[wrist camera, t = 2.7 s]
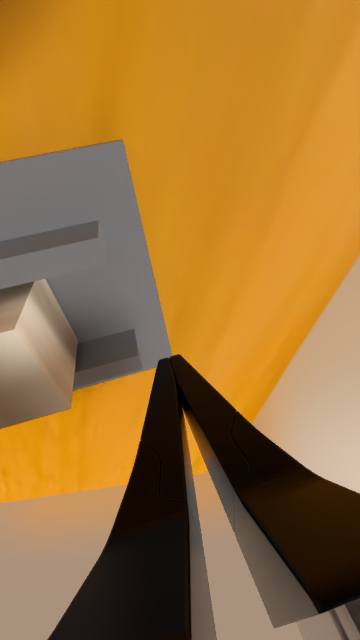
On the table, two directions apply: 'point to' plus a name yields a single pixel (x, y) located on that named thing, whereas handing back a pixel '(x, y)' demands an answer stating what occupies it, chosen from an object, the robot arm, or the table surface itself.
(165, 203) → the table surface
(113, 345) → the twin rail plate
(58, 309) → the block
